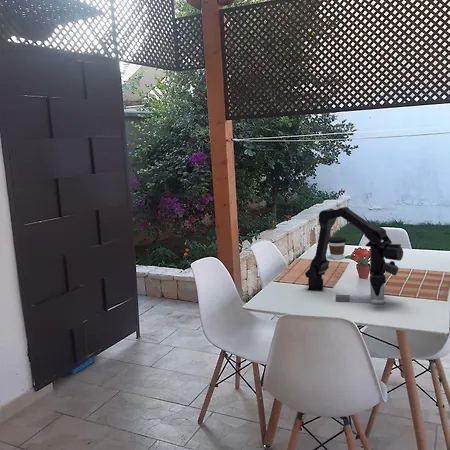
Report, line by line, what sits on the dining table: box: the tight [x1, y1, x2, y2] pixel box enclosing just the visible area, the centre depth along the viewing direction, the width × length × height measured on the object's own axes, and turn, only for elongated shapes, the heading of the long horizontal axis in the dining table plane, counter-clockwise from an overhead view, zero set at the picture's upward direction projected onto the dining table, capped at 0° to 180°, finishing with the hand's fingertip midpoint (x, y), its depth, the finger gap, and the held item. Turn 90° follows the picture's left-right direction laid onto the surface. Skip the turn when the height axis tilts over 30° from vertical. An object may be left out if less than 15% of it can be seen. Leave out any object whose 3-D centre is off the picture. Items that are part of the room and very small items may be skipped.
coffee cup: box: [328, 236, 347, 261], centre depth 278 cm, size 11×11×12 cm
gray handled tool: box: [335, 293, 387, 306], centre depth 204 cm, size 21×7×6 cm, turn 74°
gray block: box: [369, 283, 385, 300], centre depth 202 cm, size 6×6×6 cm
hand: (377, 292), depth 202 cm, fingers open, 9 cm apart
